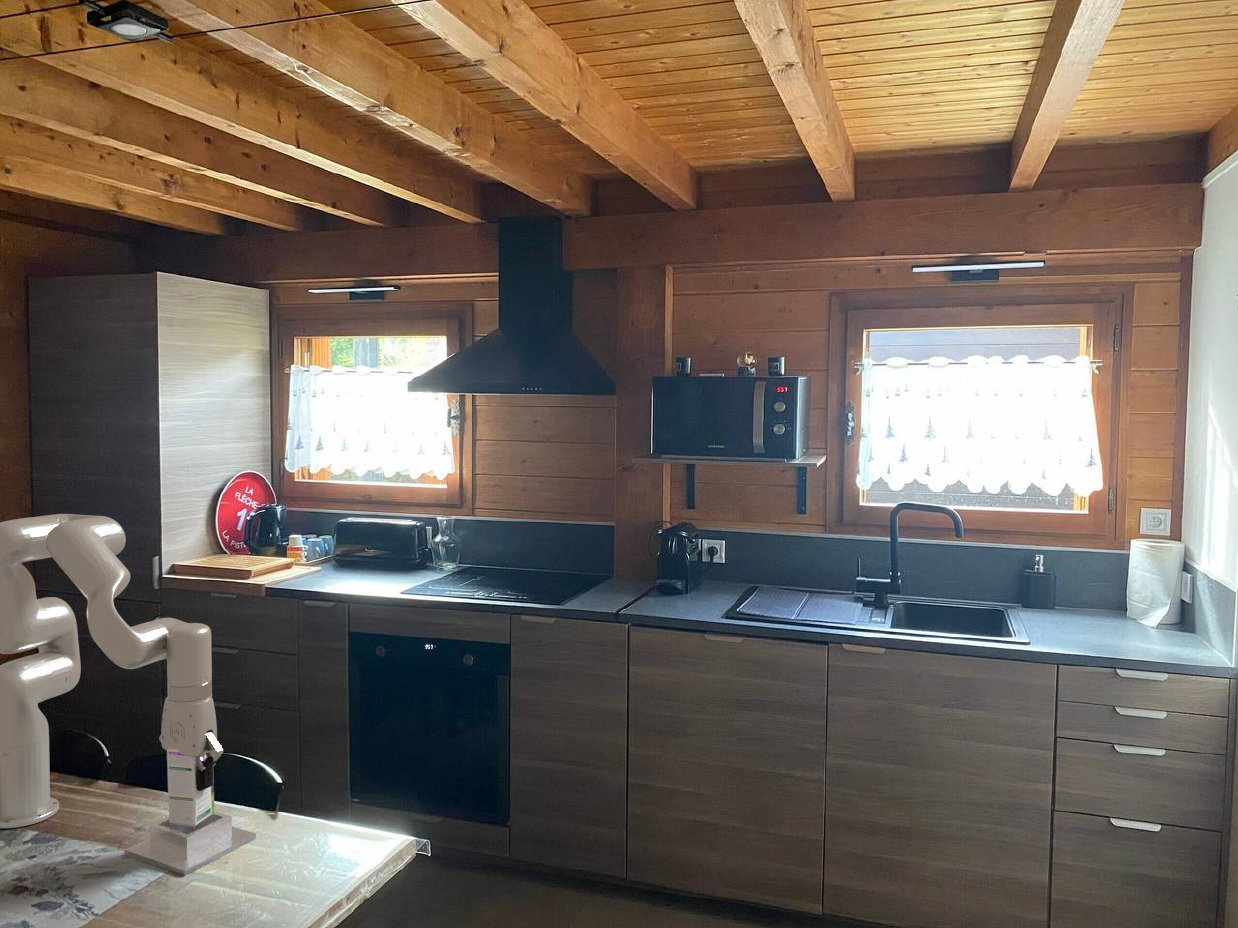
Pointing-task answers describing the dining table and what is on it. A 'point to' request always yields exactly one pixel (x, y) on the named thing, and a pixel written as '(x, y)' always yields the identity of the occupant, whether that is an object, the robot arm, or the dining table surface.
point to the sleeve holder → (189, 843)
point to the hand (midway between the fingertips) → (191, 783)
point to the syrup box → (186, 790)
